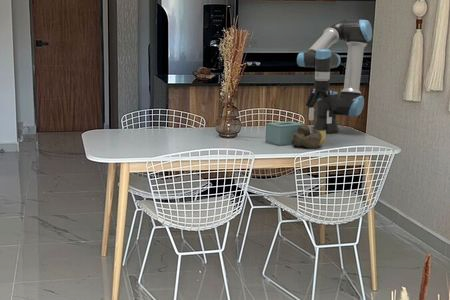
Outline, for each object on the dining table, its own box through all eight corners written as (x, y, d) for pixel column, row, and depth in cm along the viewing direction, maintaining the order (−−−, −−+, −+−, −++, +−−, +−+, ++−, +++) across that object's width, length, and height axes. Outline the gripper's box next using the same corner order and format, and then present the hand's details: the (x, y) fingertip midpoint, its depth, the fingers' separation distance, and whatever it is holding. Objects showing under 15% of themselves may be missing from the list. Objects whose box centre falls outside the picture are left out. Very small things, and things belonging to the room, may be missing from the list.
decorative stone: (306, 139, 286) (288, 123, 296) (301, 158, 292) (283, 142, 302) (331, 135, 294) (313, 120, 304) (325, 153, 300) (308, 138, 310)
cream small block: (321, 143, 310) (322, 129, 308) (325, 143, 308) (325, 130, 306) (313, 144, 306) (313, 130, 305) (316, 144, 304) (317, 131, 303)
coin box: (289, 139, 318) (290, 121, 316) (304, 143, 308) (304, 124, 306) (265, 142, 309) (265, 123, 307) (279, 145, 299) (280, 126, 297)
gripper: (300, 78, 309) (298, 119, 313) (333, 81, 289) (331, 125, 292) (311, 78, 313) (309, 118, 317) (345, 81, 293) (342, 124, 296)
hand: (319, 121), depth 305 cm, fingers open, 13 cm apart
